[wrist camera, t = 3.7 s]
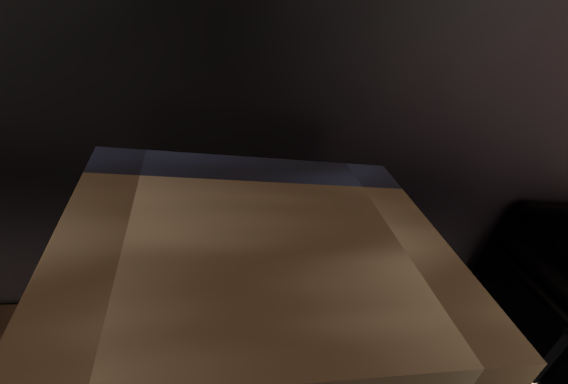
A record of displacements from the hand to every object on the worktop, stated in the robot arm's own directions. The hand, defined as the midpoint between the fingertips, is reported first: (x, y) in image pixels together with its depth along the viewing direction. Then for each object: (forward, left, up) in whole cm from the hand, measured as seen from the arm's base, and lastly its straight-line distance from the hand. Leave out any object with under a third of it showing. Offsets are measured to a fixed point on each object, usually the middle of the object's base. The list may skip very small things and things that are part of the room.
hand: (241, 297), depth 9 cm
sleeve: (0, 0, -1) cm, 1 cm away
